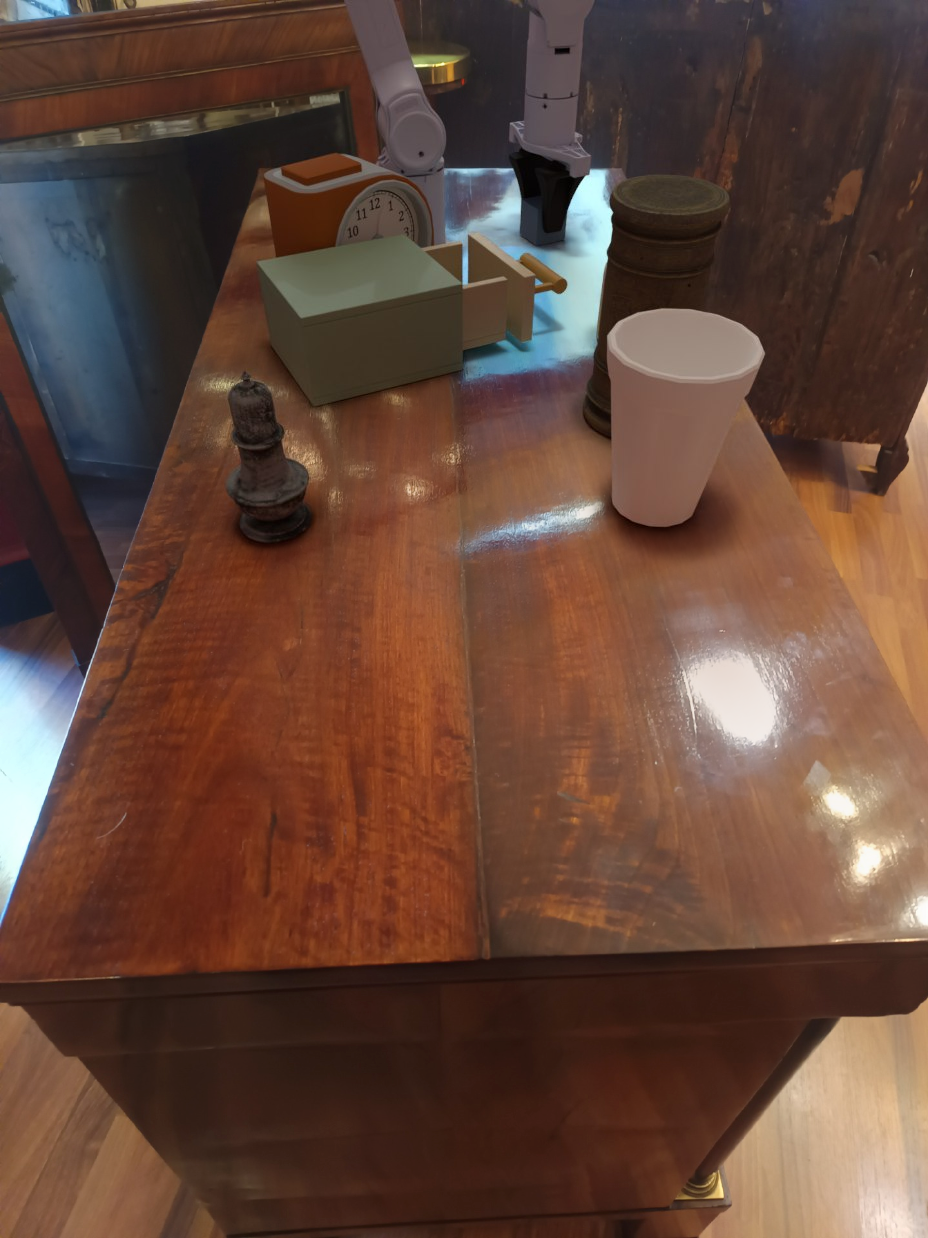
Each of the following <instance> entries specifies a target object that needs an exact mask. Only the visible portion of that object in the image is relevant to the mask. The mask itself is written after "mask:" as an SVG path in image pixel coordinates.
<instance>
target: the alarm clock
mask: <svg viewBox="0 0 928 1238" xmlns="http://www.w3.org/2000/svg"><path fill="white" fill-rule="evenodd" d="M375 164H376V163H372V162H370V161H367V160H365V159H362V158H360V157H358V156H354V155H350V154H346V153H338V152H334V153H329V154H325V155H322V156H318V157H314V158H310V159H306V160H302V161H298V162H294V163H290V164H286V165H281V166H280V167H276V168H273V169H270V170H268V171H266V172H265V173H264V174H263V178H262V179H263V185H264V191H265V198H266V203H267V208H268V215H269V222H270V228H271V234H272V240H273V246H274V253H275V258H278V257H284V256H289V255H294V254H300V253H305V252H310V251H316V250H321V249H326V248H332V247H337V246H342V245H348V244H353V243H358V242H364V241H369V240H374V239H380V238H385V237H390V236H396V235H401V234H405V235H406V236H407V237H409V238H410V239H411V240H412V241H413V242H414V243H416V244H417V245H418V246H419V247H420V248H425V247H430V246H434V228H433V220H432V213H431V210H430V207H429V204H428V202H427V199H426V197H425V196H424V194H423V193H422V191H421V190H420V189H419V187H418V186H417V185H416V184H415V183H414V182H412V181H411V180H410V179H408V178H407V177H405V176H403V175H400V174H398V173H395V172H393V171H390V170H388V169H385V168H383V167H380V166H378V165H375Z"/></svg>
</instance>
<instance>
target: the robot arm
mask: <svg viewBox="0 0 928 1238" xmlns="http://www.w3.org/2000/svg"><path fill="white" fill-rule="evenodd" d="M595 1H596V0H524V2H525V3H526V4H527V5H529V6H530V7H531V9H532V10H530V11H529V17H528V38H527V46H526V67H525V85H524V86H525V89H524V109H523V111H524V112H523V120H520V121H513V122H509V132H508V134H509V136H508V142H510V143H512V144H519V145H520V148H518V151H514V152H510V153H509V154H508V161H509V164H510V165H511V167H512V169H513V172H514V175H515V179H516V181H517V185H518V189H519V193H520V198H521V199H524V198H530V197H536V196H541V198H542V221H543V229H544V232H545V233H553V232H558V231H561V230H562V227H563V224H564V221H565V217H566V214H567V215H568V211H569V208H570V206H571V203H572V200H573V198H574V196H575V193H576V192H577V190H578V188H579V186H580V185H581V183H582V182H583V180H584V179H585V177H587V176H590V175H591V164H592V155H591V154H589V153H588V152H587V151H586V150H584V147H583V146H582V145H581V143H582V142H583V137H584V136H583V134H580V133H579V132H577V131H576V127H577V115H578V104H579V103H578V102H579V94H580V93H579V90H580V81H581V80H580V79H581V70H582V69H581V68H582V57H583V46H584V43H583V40H584V39H583V37H584V27H585V19H586V18H587V17H588V15H589V14H590V12H591V11H592V9H593V6H594V5H595V4H594V3H595ZM343 2H344V5H345V8H346V10H347V13H348V14H347V15H348V17H349V19H350V22H351V25H352V29H353V31H354V34H355V36H356V40H357V44H358V46H359V49H360V52H361V54H362V57H363V61H364V63H365V66H366V69H367V72H368V76H369V81H370V84H371V87H372V88H373V92H374V97H375V102H376V103H375V105H376V106H375V116H374V117H375V124H376V128H377V130H378V133H379V135H380V136H381V138H382V139H383V141H384V143H385V145H384V147H383V148H382V150H381V152H380V155H379V156H378V158H377V161H376V162H375V163H374V164H375V165H378V166H380V167H383V168H385V169H388V170H390V171H393V172H395V173H398V174H400V175H403V176H405V177H407V178H408V179H410V180H411V181H412V182H414V183H415V184H416V185H417V186H418V187H419V189H420V190H421V191H422V193H423V194H424V196H425V197H426V199H427V202H428V204H429V207H430V210H431V213H432V220H433V228H434V246H435V245H440V244H445V243H451V242H452V241H451V240H450V239H449V238H447V237H446V202H445V200H446V199H445V198H446V195H445V193H446V192H445V158H444V157H443V155H444V153H445V149H446V146H447V131H446V128H445V124H444V123H443V121H442V119H441V117H440V115H438V113H437V112H436V111H435V110H434V109H433V108H432V105H431V103H430V101H429V98H428V97H427V96H426V94H425V91H424V88H423V85H422V83H421V81H420V77H419V74H418V72H417V69H416V67H415V64H414V61H413V58H412V56H411V52H410V49H409V45H408V43H407V39H406V36H405V35H406V34H405V33H404V29H403V26H402V23H401V19H400V17H399V16H400V15H399V13H398V9H397V6H396V3H395V0H343ZM521 199H520V200H521Z"/></svg>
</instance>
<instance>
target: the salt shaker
mask: <svg viewBox="0 0 928 1238" xmlns="http://www.w3.org/2000/svg"><path fill="white" fill-rule="evenodd" d="M239 378H240V379H241V380H242V381H239V382H237V383H236V384H234V385H232V387H231V388H230V389H229V392H228V394H227V401H228V405H229V409H230V413H231V419H232V422H233V427H234V429H233V430H232V431H231V434H230V439H231V442H232V444H233V445H235V446H237V449H238V453H239V458H240V464H239V465H238V466H237V467H235V468H234V469H233V470H232V471H231V472H230V474H229V475H228V476H227V478H226V481H225V491H226V494H228V496H229V498H230V499H232V500H233V502H234V503H235V505H236V506H237V508H238V509H239V510H240V511H241V512H242V514H241V515H240V518H239V521H238V523H239V528H240V531H241V532H242V534H243V535H244V536H246V537H247V538H248V539H251V540H253V541H256V542H260V543H265V544H266V543H273V544H274V543H280V542H286V541H288V540H291V539H294V538H296V537H298V536H299V535H301V534H302V533H304V532H305V531H306V530H308V528H309V526H310V524H311V523H312V518H313V515H312V510H311V508H310V507H309V506H308V504H307V503H306V502H304V499H305V497H306V493H307V487H308V486H309V482H310V475H309V470H308V469H307V468H306V466H305V465H303V464H302V463H301V462H300V461H298V460H295V459H293V458H290V457H286V455H285V451H284V446H283V441H282V440H283V439H284V437H285V433H286V432H285V428H284V427H283V425H282V424H280V423H279V422H278V420H277V414H276V410H275V403H274V399H273V395H272V392H271V389H270V388H269V386H267V384H265V383H263V382H262V381H258V380H253V379H251V378H252V375H251V374H250V373H249V372H247V371H246V370H244V371H242V373H241V375H240V376H239Z"/></svg>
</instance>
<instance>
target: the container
mask: <svg viewBox="0 0 928 1238" xmlns="http://www.w3.org/2000/svg"><path fill="white" fill-rule="evenodd" d="M730 201H731V200H730V196H729V193H728V192H727V191H726V190H725V189H724V188H723V187H721V186H719V185H718V184H715V183H713V182H711V181H708V180H705V179H701V178H698V177H697V178H696V177H692V176H686V175H675V174H648V175H647V174H646V175H640V176H634V177H631V178H627V179H625V180H622V181H620V182H618V183H617V184H615V186H613V189H612V191H611V193H610V196H609V203H608V204H609V207H610V209H611V212H612V214H611V216H610V223H611V237H610V243H609V244H608V247H607V249H606V256H607V257H606V258H607V261H606V263H607V268H606V276H605V284H604V293H603V302H602V310H601V319H600V327H599V336H598V339H597V344H596V347H595V348H594V351H593V365H592V375H591V376H590V378H589V379H588V380H587V383H586V387H585V392H586V393H585V396H584V398H583V401H582V402H583V403H582V409H583V415H584V417H585V420H586V422H588V424H589V425H590V426H591V427H592V428H593V429H594V430H595V431H597V432H599V433H600V434H602V435H603V436H606V437H609V438H611V380H610V377H609V373H608V364H607V335H608V334H609V333H610V331H611V330H612V329H613V327H614V326H615V325H616V323H618V322H619V321H621V320H623V319H625V318H627V317H629V316H631V315H633V314H636V313H639V312H644V311H650V310H656V309H692V310H697V311H702V312H704V305H705V302H706V299H707V292H708V287H709V284H710V283H709V282H710V276H711V271H712V267H713V266H714V264H715V259H716V257H715V246H716V243H717V238H718V236H719V234H720V232H721V231H722V228H723V222H722V220H724V219H725V218H726V216H727V215H728V214H729V211H730V208H731V202H730Z"/></svg>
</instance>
